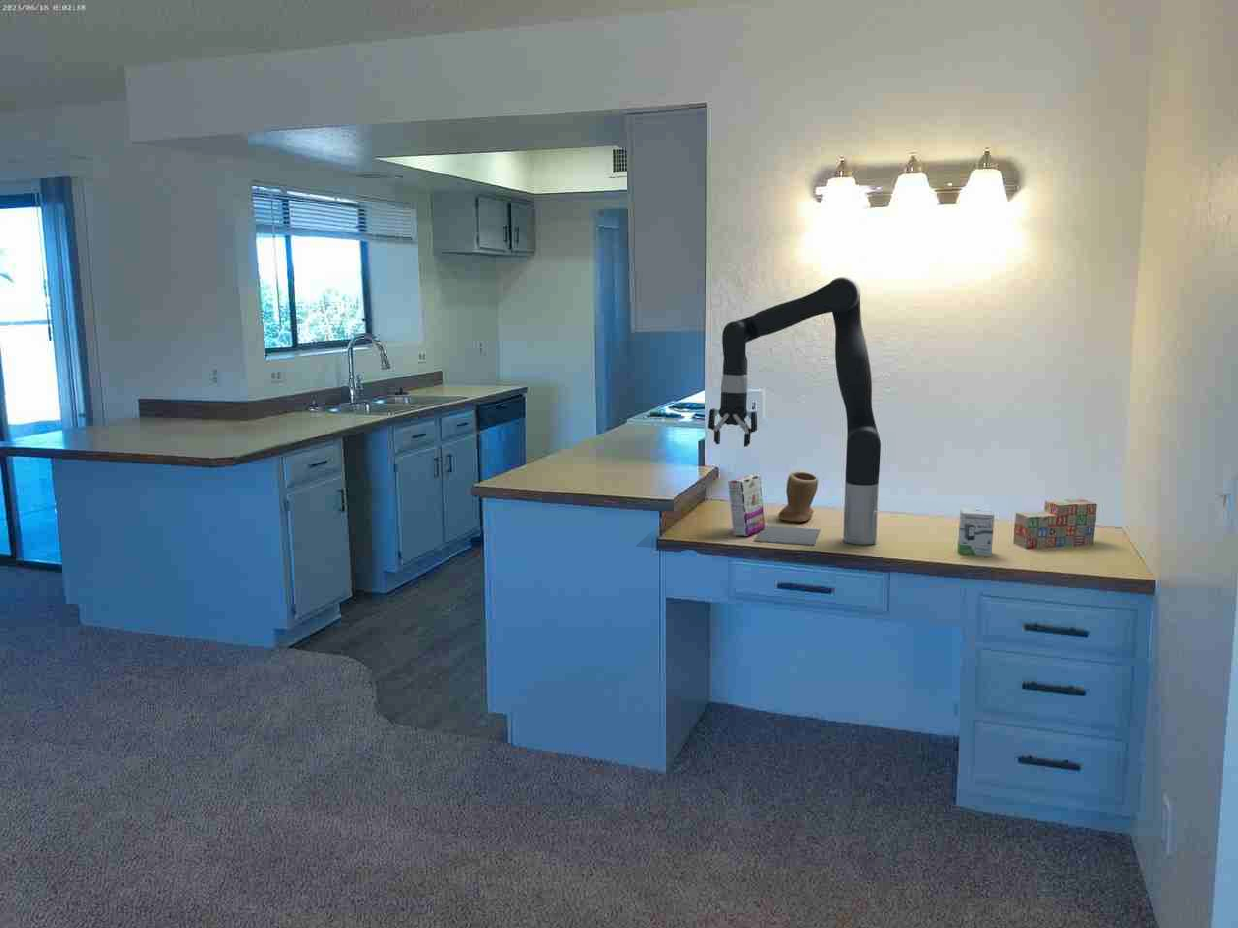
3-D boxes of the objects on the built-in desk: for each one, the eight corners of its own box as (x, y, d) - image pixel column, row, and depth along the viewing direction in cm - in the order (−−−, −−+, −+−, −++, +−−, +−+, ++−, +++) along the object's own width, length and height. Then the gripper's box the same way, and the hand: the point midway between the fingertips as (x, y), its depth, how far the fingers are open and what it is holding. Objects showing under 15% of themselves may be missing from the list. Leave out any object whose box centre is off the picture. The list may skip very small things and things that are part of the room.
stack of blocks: (1026, 549, 270) (1029, 506, 268) (1012, 543, 276) (1015, 501, 274) (1093, 545, 275) (1097, 502, 272) (1079, 539, 281) (1082, 497, 278)
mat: (820, 530, 292) (820, 529, 292) (813, 545, 275) (814, 544, 275) (763, 526, 297) (763, 525, 296) (754, 541, 280) (754, 540, 280)
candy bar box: (751, 528, 295) (746, 474, 293) (765, 528, 292) (761, 474, 290) (732, 535, 286) (727, 481, 284) (747, 536, 283) (742, 481, 281)
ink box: (958, 554, 266) (961, 512, 263) (957, 549, 270) (959, 508, 268) (992, 556, 263) (994, 514, 261) (990, 551, 268) (993, 510, 266)
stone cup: (812, 526, 297) (814, 478, 294) (774, 522, 302) (775, 475, 299) (822, 515, 311) (824, 469, 308) (786, 512, 315) (787, 466, 312)
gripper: (761, 390, 283) (758, 445, 286) (714, 387, 289) (711, 441, 292) (754, 393, 277) (752, 449, 280) (706, 390, 282) (704, 445, 285)
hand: (731, 445), depth 286 cm, fingers open, 8 cm apart
